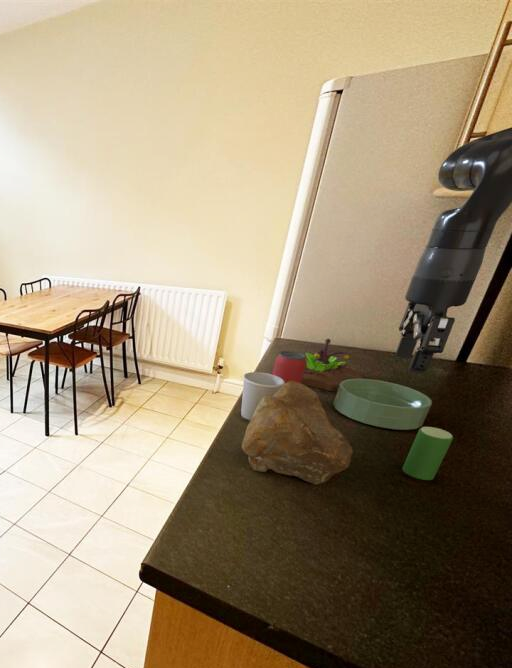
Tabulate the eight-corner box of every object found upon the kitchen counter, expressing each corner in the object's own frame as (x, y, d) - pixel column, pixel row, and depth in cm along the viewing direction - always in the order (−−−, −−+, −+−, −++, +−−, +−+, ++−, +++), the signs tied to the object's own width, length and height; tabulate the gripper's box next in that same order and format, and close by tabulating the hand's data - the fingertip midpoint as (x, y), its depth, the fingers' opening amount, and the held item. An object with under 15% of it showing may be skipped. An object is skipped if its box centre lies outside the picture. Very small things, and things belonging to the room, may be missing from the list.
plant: (363, 375, 120) (376, 338, 116) (359, 398, 107) (373, 357, 103) (283, 360, 133) (292, 326, 128) (270, 379, 120) (280, 342, 115)
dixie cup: (282, 423, 97) (293, 384, 92) (248, 425, 96) (257, 386, 92) (259, 407, 104) (268, 370, 100) (227, 409, 104) (235, 372, 100)
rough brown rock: (321, 518, 69) (360, 444, 63) (220, 470, 80) (244, 402, 73) (348, 464, 84) (382, 400, 77) (260, 429, 95) (283, 370, 88)
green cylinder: (415, 465, 81) (433, 425, 77) (440, 478, 77) (460, 437, 73) (395, 467, 80) (413, 427, 76) (420, 481, 76) (439, 439, 72)
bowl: (372, 397, 107) (379, 376, 105) (441, 428, 93) (452, 404, 90) (316, 403, 105) (323, 381, 103) (378, 435, 91) (388, 411, 88)
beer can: (265, 390, 113) (276, 349, 108) (294, 394, 110) (306, 352, 106) (267, 400, 108) (278, 357, 103) (297, 404, 105) (310, 360, 100)
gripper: (495, 283, 62) (451, 381, 69) (457, 269, 74) (423, 354, 80) (428, 280, 66) (393, 374, 72) (402, 267, 77) (374, 349, 84)
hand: (409, 364), depth 76 cm, fingers open, 8 cm apart
